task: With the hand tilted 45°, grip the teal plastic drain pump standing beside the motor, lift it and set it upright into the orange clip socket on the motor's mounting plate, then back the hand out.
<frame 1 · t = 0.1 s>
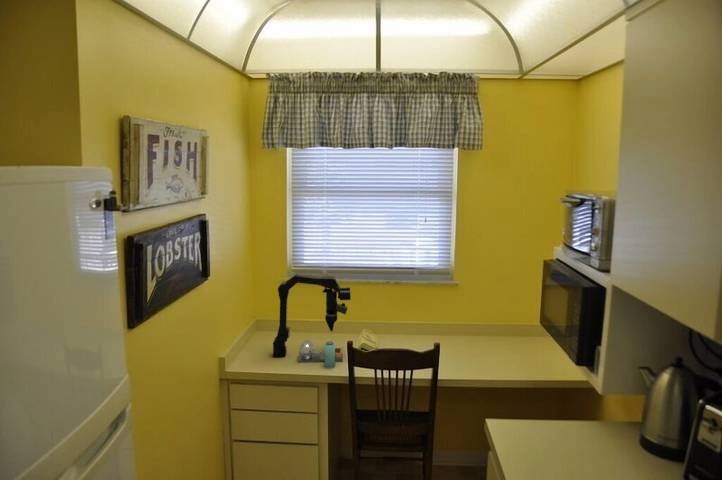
hand: (331, 328, 277), 15 cm above the table, tool pointing down, fingers open, 9 cm apart
motor assembly: (318, 358, 272), on the table
plastic component: (367, 347, 291), on the table
drain pump: (329, 366, 262), on the table
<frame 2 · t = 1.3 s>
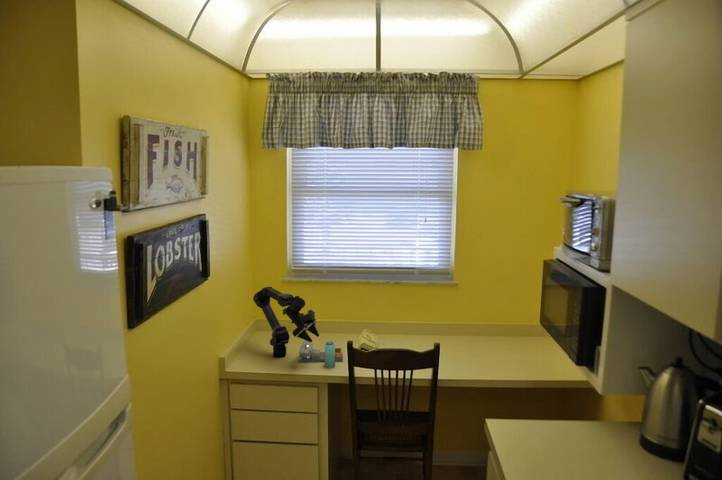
hand: (315, 338, 263), 13 cm above the table, tool tilted 45°, fingers open, 9 cm apart
nothing on the table moved.
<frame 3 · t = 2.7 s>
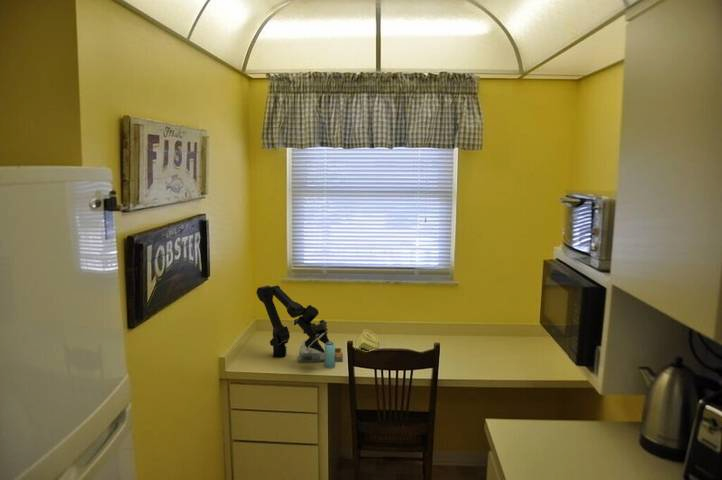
hand: (327, 349, 261), 9 cm above the table, tool tilted 45°, fingers open, 9 cm apart
nothing on the table moved.
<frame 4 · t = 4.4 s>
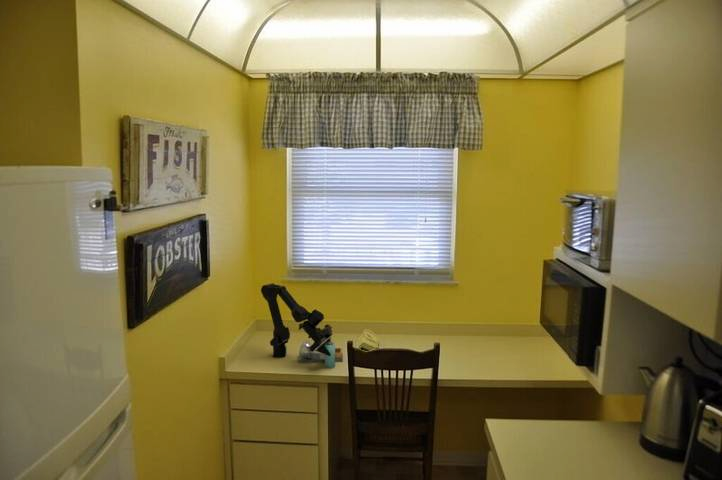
hand: (332, 353, 261), 7 cm above the table, tool tilted 45°, fingers closed on drain pump, 5 cm apart
drain pump: (329, 366, 262), on the table, touching gripper
everything else where it was.
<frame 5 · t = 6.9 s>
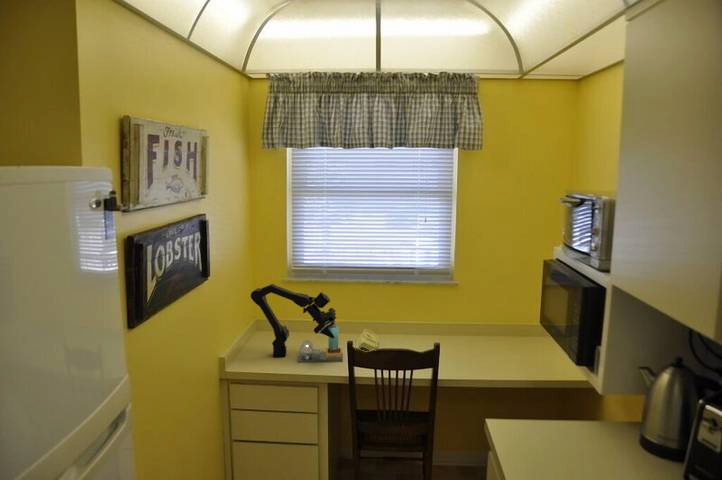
hand: (335, 336, 270), 12 cm above the table, tool tilted 45°, fingers closed on drain pump, 5 cm apart
drain pump: (333, 348, 272), point 6 cm above the table, touching gripper
everything else where it was.
when the fingers open (9 cm above the table, at t = 8.6 s): drain pump stays where it is, resting on motor assembly.
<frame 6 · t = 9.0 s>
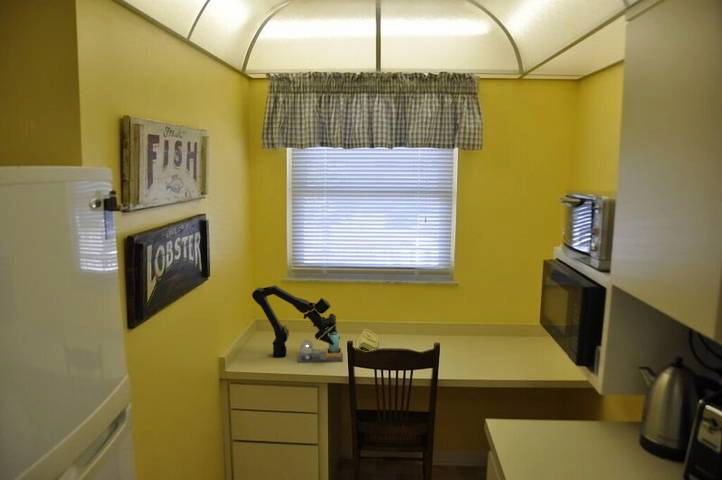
hand: (336, 341, 272), 9 cm above the table, tool tilted 45°, fingers open, 9 cm apart
drain pump: (333, 355, 273), point 2 cm above the table, touching motor assembly
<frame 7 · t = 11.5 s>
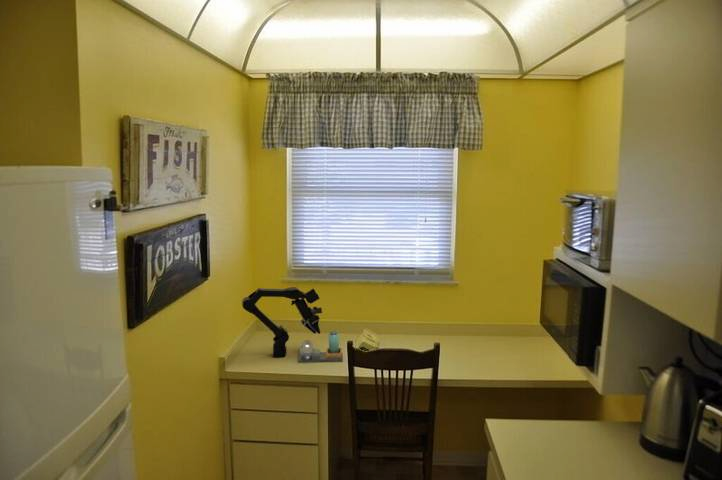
hand: (317, 333, 278), 12 cm above the table, tool tilted 30°, fingers open, 9 cm apart
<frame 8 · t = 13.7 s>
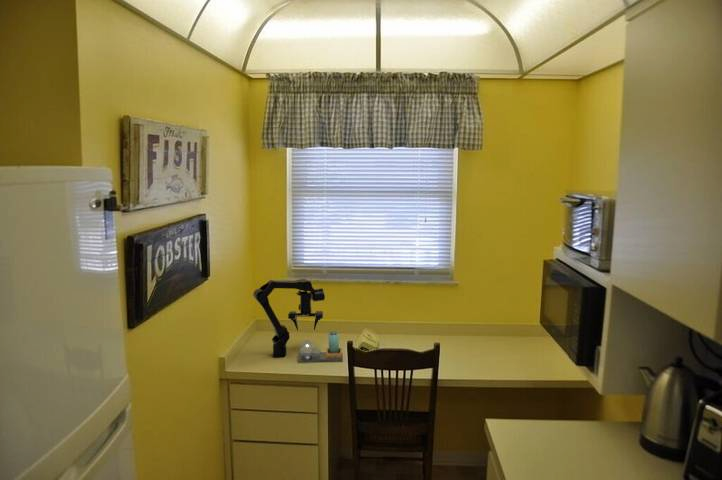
hand: (306, 330, 282), 12 cm above the table, tool pointing down, fingers open, 9 cm apart
at the end: drain pump 0.1 cm from the target spot on the motor assembly, point 1.5 cm above the motor assembly's base; drain pump tilted 1°; the gripper is holding nothing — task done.
